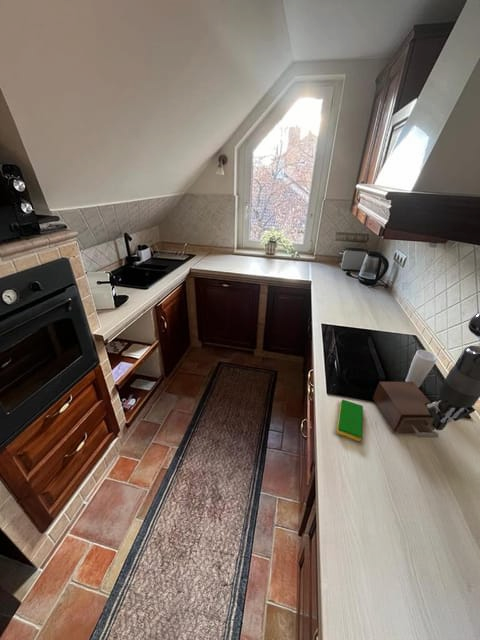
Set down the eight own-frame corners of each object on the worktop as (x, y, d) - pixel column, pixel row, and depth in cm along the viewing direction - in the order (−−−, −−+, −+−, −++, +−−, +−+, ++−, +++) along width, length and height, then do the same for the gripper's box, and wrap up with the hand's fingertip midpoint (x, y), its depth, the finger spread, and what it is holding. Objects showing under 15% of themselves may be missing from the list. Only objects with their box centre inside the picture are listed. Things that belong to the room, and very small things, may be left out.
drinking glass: (425, 391, 100) (440, 361, 93) (406, 388, 101) (421, 359, 94) (417, 379, 106) (431, 350, 99) (400, 377, 107) (413, 348, 100)
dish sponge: (361, 410, 91) (363, 405, 90) (359, 442, 80) (361, 437, 79) (340, 403, 94) (342, 399, 93) (336, 433, 83) (338, 428, 82)
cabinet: (430, 432, 84) (441, 414, 80) (392, 432, 84) (401, 414, 80) (404, 398, 97) (412, 381, 93) (372, 398, 97) (379, 381, 92)
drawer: (440, 445, 79) (450, 431, 76) (405, 445, 79) (413, 431, 75) (407, 401, 94) (414, 388, 91) (377, 401, 94) (383, 388, 91)
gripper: (449, 395, 62) (422, 439, 71) (502, 395, 62) (469, 439, 71) (429, 373, 68) (406, 417, 77) (477, 374, 69) (449, 416, 77)
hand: (436, 427), depth 74 cm, fingers closed
